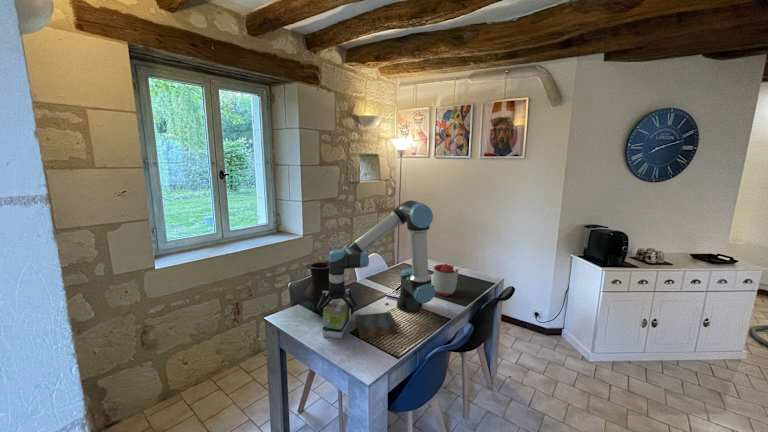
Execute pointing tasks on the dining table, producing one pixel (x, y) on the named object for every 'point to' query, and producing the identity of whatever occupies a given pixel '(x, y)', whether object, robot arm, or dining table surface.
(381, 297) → the dining table surface
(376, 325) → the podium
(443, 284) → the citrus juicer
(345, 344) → the dining table surface
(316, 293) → the jug
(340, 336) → the tea box
